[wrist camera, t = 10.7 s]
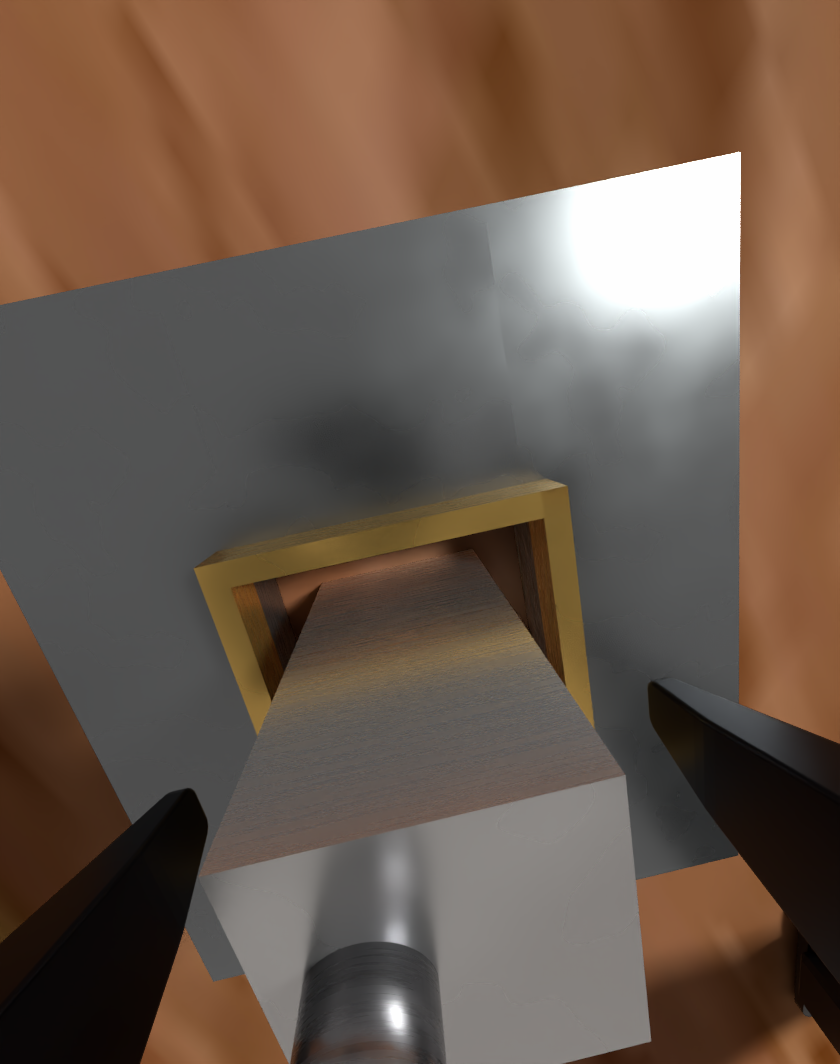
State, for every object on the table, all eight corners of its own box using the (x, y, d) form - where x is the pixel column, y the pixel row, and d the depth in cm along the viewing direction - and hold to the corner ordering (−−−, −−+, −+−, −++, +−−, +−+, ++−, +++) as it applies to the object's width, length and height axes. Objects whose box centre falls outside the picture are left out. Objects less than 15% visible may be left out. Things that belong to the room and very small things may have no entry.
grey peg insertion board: (689, 191, 10) (795, 109, 7) (705, 814, 15) (770, 895, 13) (-47, 344, 10) (-209, 315, 7) (230, 927, 15) (196, 1033, 12)
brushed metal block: (472, 549, 12) (750, 959, 3) (497, 679, 13) (746, 1266, 4) (321, 583, 12) (96, 1117, 3) (359, 710, 13) (294, 1385, 4)
